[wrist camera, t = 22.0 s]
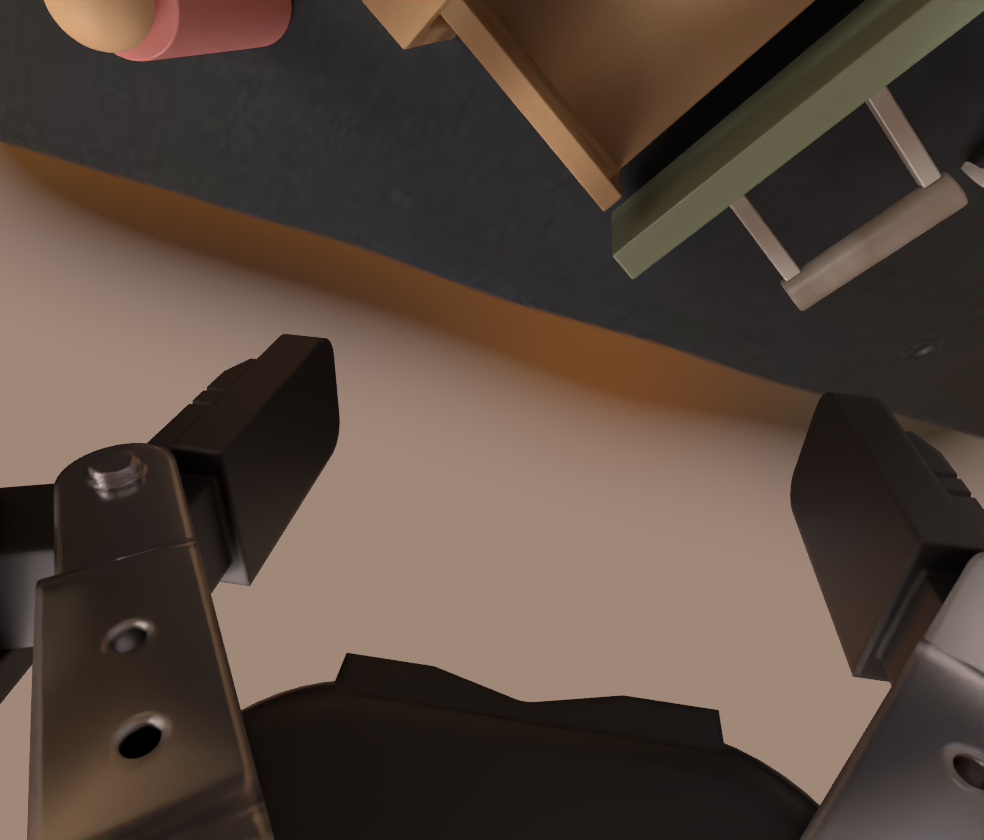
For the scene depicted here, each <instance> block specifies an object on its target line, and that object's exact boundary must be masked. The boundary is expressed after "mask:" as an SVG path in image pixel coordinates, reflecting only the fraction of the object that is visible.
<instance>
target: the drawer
mask: <svg viewBox="0 0 984 840" xmlns="http://www.w3.org/2000/svg"><path fill="white" fill-rule="evenodd" d="M814 1H815V0H452V1H451V2H450V3H449V4H448V5H447V7H446V8H445V9H444V10H443V11H442V12H441V16H442V17H443V18H444V19H445V20H446V22H447V23H448V24H449V25H450V26H451V28H452V29H453V30H454V31H455V33H456V34H457V35H458V36H459V37H460V39H461V40H462V41H463V42H464V43H465V45H466V46H467V47H468V48H469V49H470V51H471V52H472V53H473V54H474V55H475V57H476V58H477V59H478V60H479V62H480V63H481V64H482V65H483V66H484V68H485V69H486V70H487V71H488V72H489V74H490V75H491V76H492V77H493V78H494V80H495V81H496V82H497V83H498V85H499V86H500V87H501V88H502V89H503V91H504V92H505V93H506V94H507V95H508V97H509V98H510V99H511V100H512V101H513V103H514V104H515V105H516V106H517V108H518V109H519V110H520V111H521V112H522V114H523V115H524V116H525V117H526V118H527V120H528V121H529V122H530V123H531V124H532V126H533V127H534V128H535V129H536V131H537V132H538V133H539V134H540V135H541V137H542V138H543V139H544V140H545V141H546V143H547V144H548V145H549V146H550V147H551V149H552V150H553V151H554V152H555V153H556V155H557V156H558V157H559V158H560V160H561V161H562V162H563V163H564V164H565V166H566V167H567V168H568V169H569V170H570V172H571V173H572V174H573V175H574V176H575V178H576V179H577V180H578V181H579V183H580V184H581V185H582V186H583V187H584V189H585V190H586V191H587V192H588V193H589V195H590V196H591V197H592V198H593V199H594V201H595V202H596V203H597V204H598V206H599V207H600V208H601V209H602V210H603V211H606V210H607V209H609V208H610V207H611V206H612V205H613V204H614V203H616V202H617V201H618V200H619V199H620V198H621V197H622V190H621V178H620V169H621V168H622V167H624V166H625V165H626V164H627V163H628V162H629V161H631V160H632V159H633V158H634V157H635V156H636V155H637V154H639V153H640V152H641V151H642V150H643V149H644V148H646V147H647V146H648V145H649V144H650V143H651V142H652V141H654V140H655V139H656V138H657V137H658V136H659V135H661V134H662V133H663V132H664V131H665V130H666V129H667V128H669V127H670V126H671V125H672V124H673V123H674V122H676V121H677V120H678V119H679V118H680V117H681V116H682V115H684V114H685V113H686V112H687V111H688V110H689V109H691V108H692V107H693V106H694V105H695V104H696V103H698V102H699V101H700V100H701V99H702V98H703V97H704V96H706V95H707V94H708V93H709V92H710V91H711V90H713V89H714V88H715V87H716V86H717V85H718V84H719V83H721V82H722V81H723V80H724V79H725V78H726V77H728V76H729V75H730V74H731V73H732V72H733V71H734V70H736V69H737V68H738V67H739V66H740V65H741V64H743V63H744V62H745V61H746V60H747V59H748V58H749V57H751V56H752V55H753V54H754V53H755V52H756V51H758V50H759V49H760V48H761V47H762V46H763V45H764V44H766V43H767V42H768V41H769V40H770V39H771V38H773V37H774V36H775V35H776V34H777V33H778V32H779V31H781V30H782V29H783V28H784V27H785V26H786V25H788V24H789V23H790V22H791V21H792V20H793V19H794V18H796V17H797V16H798V15H799V14H800V13H801V12H803V11H804V10H805V9H806V8H807V7H808V6H809V5H811V4H812V3H813V2H814ZM983 11H984V0H865V1H864V2H863V3H862V4H860V5H859V6H858V7H857V8H856V9H854V10H853V11H852V12H851V13H850V14H848V15H847V16H846V17H845V18H844V19H842V20H841V21H840V22H839V23H838V24H836V25H835V26H834V27H833V28H832V29H830V30H829V31H828V32H827V33H826V34H824V35H823V36H822V37H821V38H820V39H819V40H817V41H816V42H815V43H814V44H813V45H811V46H810V47H809V48H808V49H807V50H805V51H804V52H803V53H802V54H801V55H799V56H798V57H797V58H796V59H795V60H793V61H792V62H791V63H790V64H789V65H787V66H786V67H785V68H784V69H783V70H781V71H780V72H779V73H778V74H777V75H775V76H774V77H773V78H772V79H771V80H769V81H768V82H767V83H766V84H765V85H764V86H762V87H761V88H760V89H759V90H758V91H756V92H755V93H754V94H753V95H752V96H750V97H749V98H748V99H747V100H746V101H744V102H743V103H742V104H741V105H740V106H738V107H737V108H736V109H735V110H734V111H732V112H731V113H730V114H729V115H728V116H726V117H725V118H724V119H723V120H722V121H720V122H719V123H718V124H717V125H716V126H714V127H713V128H712V129H711V130H710V131H709V132H707V133H706V134H705V135H704V136H703V137H701V138H700V139H699V140H698V141H697V142H695V143H694V144H693V145H692V146H691V147H689V148H688V149H687V150H686V151H685V152H683V153H682V154H681V155H680V156H679V157H677V158H676V159H675V160H674V161H673V162H671V163H670V164H669V165H668V166H667V167H665V168H664V169H663V170H662V171H661V172H660V173H658V174H657V175H656V176H655V177H654V178H652V179H651V180H650V181H649V182H648V183H646V184H645V185H644V186H643V187H642V188H640V189H639V190H638V191H637V192H636V193H634V194H633V195H632V196H631V197H630V198H628V199H627V200H626V201H625V202H624V203H622V204H621V205H620V206H619V207H618V208H616V209H615V210H614V211H613V212H612V254H613V257H614V259H615V260H616V261H617V262H618V263H619V265H620V266H621V267H622V268H623V269H624V270H625V272H626V273H627V274H628V275H629V276H630V278H631V279H635V278H636V277H637V276H639V275H640V274H641V273H642V272H644V271H645V270H646V269H648V268H649V267H650V266H652V265H653V264H654V263H655V262H657V261H658V260H659V259H661V258H662V257H663V256H665V255H666V254H667V253H669V252H670V251H671V250H672V249H674V248H675V247H676V246H678V245H679V244H680V243H682V242H683V241H684V240H686V239H687V238H688V237H689V236H691V235H692V234H693V233H695V232H696V231H697V230H699V229H700V228H701V227H702V226H704V225H705V224H706V223H708V222H709V221H710V220H712V219H713V218H714V217H716V216H717V215H718V214H719V213H721V212H722V211H723V210H725V209H726V208H727V207H729V206H730V207H731V209H732V210H733V211H734V213H735V214H736V215H737V217H738V218H739V219H740V221H741V222H742V223H743V225H744V226H745V227H746V229H747V230H748V231H749V233H750V234H751V235H752V237H753V238H754V239H755V241H756V242H757V243H758V245H759V246H760V247H761V249H762V250H763V251H764V253H765V254H766V255H767V257H768V258H769V259H770V261H771V262H772V263H773V265H774V266H775V267H776V269H777V270H778V271H779V273H780V274H781V275H782V277H783V278H784V279H783V280H782V281H781V285H782V286H783V288H784V289H785V291H786V292H787V294H788V295H789V296H790V298H791V299H792V301H793V302H794V303H795V304H796V306H797V307H798V308H799V309H800V310H801V311H804V310H806V309H807V308H809V307H810V306H812V305H813V304H815V303H816V302H818V301H819V300H821V299H822V298H824V297H826V296H827V295H829V294H830V293H832V292H833V291H835V290H836V289H838V288H839V287H841V286H842V285H844V284H846V283H847V282H849V281H850V280H852V279H853V278H855V277H856V276H858V275H859V274H861V273H863V272H864V271H866V270H867V269H869V268H870V267H872V266H873V265H875V264H876V263H878V262H879V261H881V260H883V259H884V258H886V257H887V256H889V255H890V254H892V253H893V252H895V251H896V250H898V249H899V248H901V247H903V246H904V245H906V244H907V243H909V242H910V241H912V240H913V239H915V238H916V237H918V236H919V235H921V234H923V233H924V232H926V231H927V230H929V229H930V228H932V227H933V226H935V225H936V224H938V223H940V222H941V221H943V220H944V219H946V218H947V217H949V216H950V215H952V214H953V213H955V212H956V211H958V210H960V209H961V208H963V207H964V206H966V204H967V203H968V201H967V197H966V195H965V193H964V191H963V190H962V188H961V187H960V185H959V184H958V183H957V182H956V181H955V179H954V178H953V177H951V176H950V175H949V174H948V173H946V172H939V171H938V169H937V167H936V166H935V164H934V162H933V161H932V159H931V158H930V156H929V154H928V153H927V151H926V149H925V148H924V146H923V145H922V143H921V141H920V140H919V138H918V136H917V135H916V133H915V132H914V130H913V128H912V127H911V125H910V123H909V122H908V120H907V119H906V117H905V115H904V114H903V112H902V111H901V109H900V107H899V106H898V104H897V102H896V101H895V99H894V98H893V96H892V94H891V93H890V91H889V89H888V88H887V86H886V85H888V84H889V83H890V82H892V81H893V80H894V79H896V78H897V77H898V76H900V75H901V74H902V73H903V72H905V71H906V70H907V69H909V68H910V67H911V66H913V65H914V64H915V63H916V62H918V61H919V60H920V59H922V58H923V57H924V56H926V55H927V54H928V53H930V52H931V51H932V50H933V49H935V48H936V47H937V46H939V45H940V44H941V43H943V42H944V41H945V40H947V39H948V38H949V37H950V36H952V35H953V34H954V33H956V32H957V31H958V30H960V29H961V28H962V27H963V26H965V25H966V24H967V23H969V22H970V21H971V20H973V19H974V18H975V17H977V16H978V15H979V14H980V13H982V12H983ZM864 102H866V104H867V105H868V107H869V108H870V110H871V112H872V113H873V115H874V116H875V118H876V119H877V121H878V123H879V124H880V126H881V127H882V129H883V131H884V132H885V134H886V135H887V137H888V138H889V140H890V142H891V143H892V145H893V146H894V148H895V150H896V151H897V153H898V154H899V156H900V157H901V159H902V161H903V162H904V164H905V165H906V167H907V168H908V170H909V172H910V173H911V175H912V176H913V178H914V180H915V181H916V183H917V184H918V185H920V186H919V187H918V188H916V189H915V190H913V191H912V192H910V193H909V194H907V195H906V196H904V197H903V198H901V199H900V200H899V201H897V202H896V203H894V204H893V205H891V206H890V207H888V208H887V209H885V210H884V211H882V212H881V213H879V214H878V215H877V216H875V217H874V218H872V219H871V220H869V221H868V222H866V223H865V224H863V225H862V226H860V227H859V228H858V229H856V230H855V231H853V232H852V233H850V234H849V235H847V236H846V237H844V238H843V239H841V240H840V241H838V242H837V243H836V244H834V245H833V246H831V247H830V248H828V249H827V250H825V251H824V252H822V253H821V254H819V255H818V256H816V257H815V258H814V259H812V260H811V261H809V262H808V263H806V264H805V265H803V266H802V267H800V268H799V267H798V266H797V265H796V263H795V262H794V261H793V259H792V258H791V257H790V255H789V254H788V253H787V251H786V250H785V248H784V247H783V246H782V244H781V243H780V242H779V240H778V239H777V238H776V236H775V235H774V234H773V232H772V231H771V229H770V228H769V227H768V225H767V224H766V223H765V221H764V220H763V219H762V217H761V216H760V215H759V213H758V212H757V210H756V209H755V208H754V206H753V205H752V204H751V202H750V201H749V200H748V198H747V197H746V196H745V194H746V193H747V192H748V191H749V190H751V189H752V188H753V187H755V186H756V185H757V184H759V183H760V182H761V181H763V180H764V179H765V178H766V177H768V176H769V175H770V174H772V173H773V172H774V171H776V170H777V169H778V168H779V167H781V166H782V165H783V164H785V163H786V162H787V161H789V160H790V159H791V158H793V157H794V156H795V155H796V154H798V153H799V152H800V151H802V150H803V149H804V148H806V147H807V146H808V145H809V144H811V143H812V142H813V141H815V140H816V139H817V138H819V137H820V136H821V135H823V134H824V133H825V132H826V131H828V130H829V129H830V128H832V127H833V126H834V125H836V124H837V123H838V122H839V121H841V120H842V119H843V118H845V117H846V116H847V115H849V114H850V113H851V112H853V111H854V110H855V109H856V108H858V107H859V106H860V105H862V104H863V103H864Z"/></svg>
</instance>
